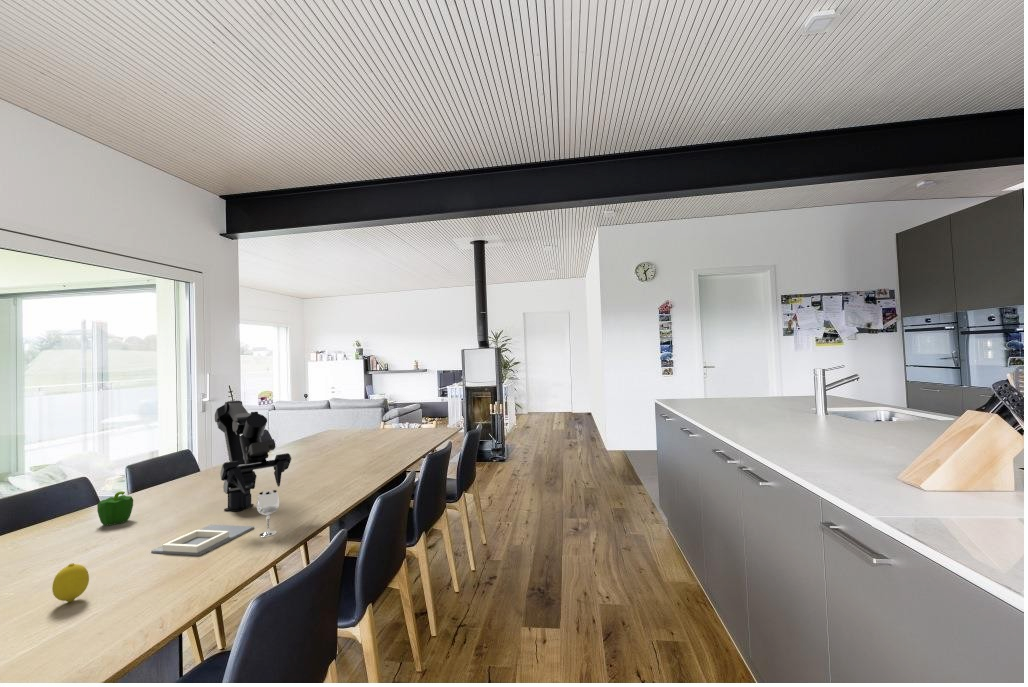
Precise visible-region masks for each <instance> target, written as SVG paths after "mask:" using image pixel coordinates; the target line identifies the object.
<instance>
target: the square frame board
mask: <svg viewBox="0 0 1028 687" xmlns="http://www.w3.org/2000/svg"><path fill="white" fill-rule="evenodd" d="M254 529H255V526H253V525H251V526H250V525H231V524H230V525H227V524H209V525H207V526H204V527H202V528H200V529H196V530H193V531H191V532H189V533H186V534H184V535H181V536H178V537H177V538H175V539H172V540H170V541H169V542H166V543H164V544H162V545H161V546H159V547H157V548H154V549H153V550H151V554H160V555H161V554H165V555H166V554H167V555H168V554H169V555H179V554H180V555H183V556H198V555H199V556H198V557H200V556H203V555H205V554H207V553H208V551H209V552H210V550H211V551H213V550H214V548H215V549H216V547H217V548H218V547H221V546H223V545H224V544H226V543H228V542H230V541H232V540H234V539H236V538H238V537H240V536H242V535H243V534H246V533H248V532H250V531H252V530H254ZM212 549H213V550H212ZM206 552H207V553H206ZM204 553H205V554H204ZM202 554H203V555H202ZM180 555H179V556H180Z"/></svg>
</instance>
